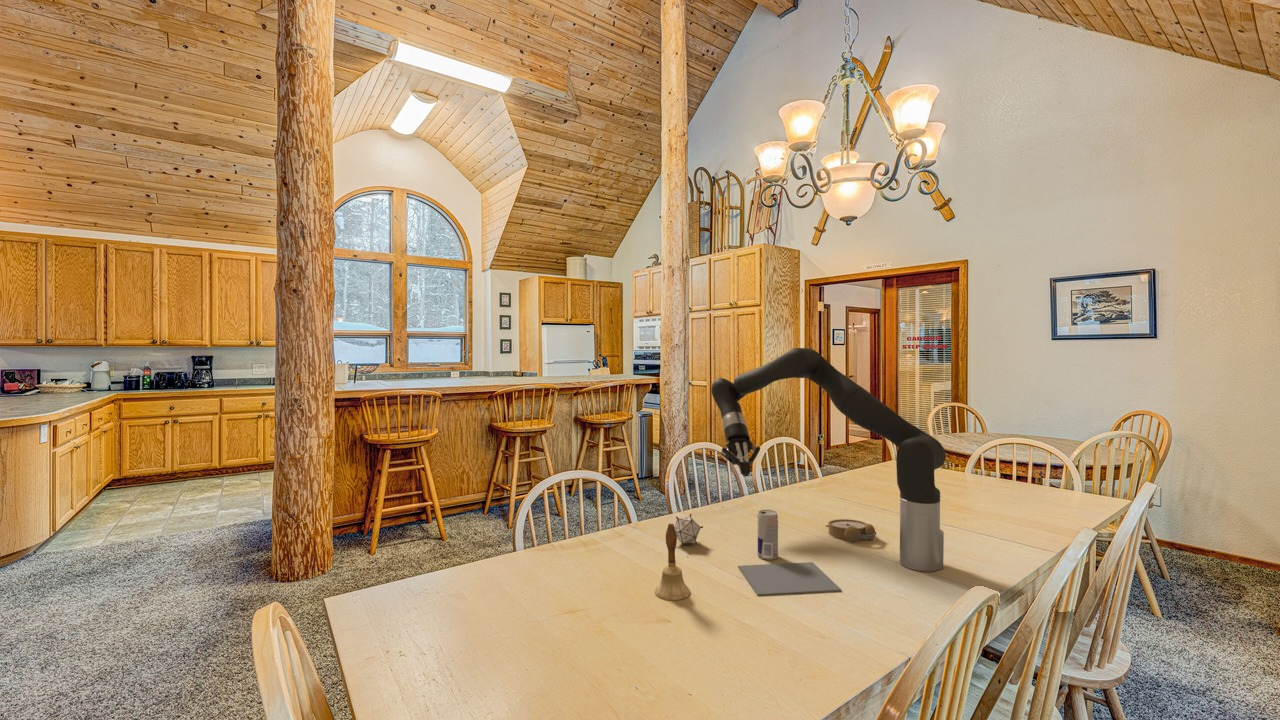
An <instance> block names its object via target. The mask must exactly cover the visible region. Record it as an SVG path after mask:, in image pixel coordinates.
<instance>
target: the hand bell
mask: <svg viewBox="0 0 1280 720" xmlns="http://www.w3.org/2000/svg"><path fill="white" fill-rule="evenodd" d="M674 527H675V525H674V523H668V524H667V528H666V531H665V545H666V548H667V552H668V553H667V554H668V556H667V557H668V559H667V562H668V563H667V564H668V565H667V566H665V567H663V569H662V573H661V579H660V582H659V583H658V585H657V586H656V588H655V590H654V595H656V597H657V598H659V599H661V600H665V601H673V602H674V601H682V600H684V599H687V598H688V597H689V596H690V595H691V589H690V588H689V586H687V585H686V582H685V580H684V576H683V570H682V569H681V567H680V566H677V565H676V564H677V563H676V547H677V543H678V542H677V541H678V539H677V535H676V531H675V528H674Z"/></svg>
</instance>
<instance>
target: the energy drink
mask: <svg viewBox="0 0 1280 720" xmlns="http://www.w3.org/2000/svg"><path fill="white" fill-rule="evenodd" d="M757 556H758V557H759V558H760V559H761V558H762V560H765V559H766V561H773V559H774V560H777V559H778V557H779V516H778V512H777V511H775V510H771V509H761V510H759V511H758V513H757Z"/></svg>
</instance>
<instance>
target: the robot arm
mask: <svg viewBox="0 0 1280 720" xmlns="http://www.w3.org/2000/svg"><path fill="white" fill-rule="evenodd" d="M792 378H794V379H795V378H796V379H808V380H809V381H812V382H813V383H814V384H816V385H817V386H819V387H820V388H822V389H823V391H825V392H826V393H827V396H828V397H829V398H830V400H831V403H833V405H834V406H835V408H836V409H837V410H838V411H839V412H840V413H841V414H843V415H844V416H845V417H846V418H847V419H849V420H850V421H851V422H853V423H854V424H856V425H857V426H859V427H860V428H863V429H865V430H867V431H870V432H871V433H874V434H876V435H878V436H880V437H883V438H884V439H887V441H889V442H890V443H892V444H894V445H895V446H896V447H897V450H896V458H895V461H896V463H895V464H896V485H897V487H898V490H899V497H900V498H899V563H900V564H901V565H902V566H903V567H905V568H908V569H911V570H915V571H919V572H925V573H926V572H928V573H929V572H936V571H938V570H940V569H944V555H945V554H944V548H945V546H944V544H945V543H944V541H945V540H944V539H945V537H944V534H945V533H944V531H943V530H942V529H941V492H940V489H939V488H937V487H936V484H935V481H936V480H935V470H938V469H939V468H941V467H942V466H943V465H944V464H945V462H946V457H947V453H946V450H945V448H944V446H943V445H942V443H941V442H940V441H939V440H938V439H936V438H935V437H934V436H932V435H930V434H929V433H928V432H925V431H924V430H922V429H920V428H919V427H917V426H915V425H913V424H911V422H909V421H907V420H906V419H904V418H903V417H902V416H901V415H899V414H898V413H897V412H895V411H894V410H893V409H892V408H890V407H889V406H887V404H884V403H883V402H882V401H881V400H880V399H878V398H877V397H876V396H874V395H873V394H872V393H871V392H869V391H868V390H866V389H865V388H863V386H861V385H860V384H858V383H856V382H855V381H853V380H852V379H851V378H849V377H848V376H846V375H845V374H843V373H842V372H841V371H839V369H836V368H835V367H834V366H833V365H832V364H831V363H830V362H829V361H828V360H827V359H826V358H824V356H823V355H821V354H820V353H819V352H818V351H817V350H815V349H812V348H811V347H810V348H809V347H796V348H795V347H793V348H791V349H790V350H788V351H786V352H785V353H783V354H780V356H778V357H777V358H775V359H773V360H772V361H770V362H767V363H766V364H763V365H761V366H758V367H756V368H754V369H750V370H749V371H745V372H743V373H740V374H739V375H737V376H735V378H734V379H733V382H732V381H730V380H729V379H727V378H724V377H718V378H716V379H715V380H713V383H712V385H711V389H710V390H711V395H712V398H713V400H714V402H715V404H716V406H717V408H718V409H719V411H720V417H721V421H722V430H723V433H724V436H725V441H726V445H725V447H722V448H721V451H720V454H721V456H722V457H724V458H725V459H726V460H727V461H728V462H730V463H731V465H733V466H735V465H737V466H738V468H739V472H740V474H741V475H742V476H743V477H749V475H750V473H751V466H750V465H752V464H754V461H755V460H756V459H757V457H758V455H759V454H760V451H761V447H760V446H756V445H753V442H752V441H751V438H750V434H749V430H748V427H747V423H746V418H745V417H744V415H743V411H742V407H741V404H740V402H739V401H740V400H741V399H743V398H744V397H745V396H747V395H748V394H752V393H754V392H757V391H760V390H763V389H764V388H766V387H767V386H769V385H771V384H772V383H774V382H777V381H781V380H785V379H792ZM750 452H751V453H752V454H751V456H750V457H749V454H750Z"/></svg>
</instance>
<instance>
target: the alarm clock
mask: <svg viewBox="0 0 1280 720" xmlns="http://www.w3.org/2000/svg"><path fill="white" fill-rule="evenodd" d="M825 527H827V528H828V534H829V536H832V537H835V538H837V539H841V540H842V539H843V540H846V541H847V542H848V543H851V544H852V543H853V544H854V543H855V544H856V543H858V542H860V540H866V541H873V540H874V538H875V537H876V535H877V532H876V529H875V527H874V525H873V524H871V523H866V522H865V521H863V520H862V521H861V520H858V519H857V520H856V519H850V518H849V519H847V518H845V519H844V518H843V519H842V518H840V519H831V520H829V521H828V524H826V525H825Z"/></svg>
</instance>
